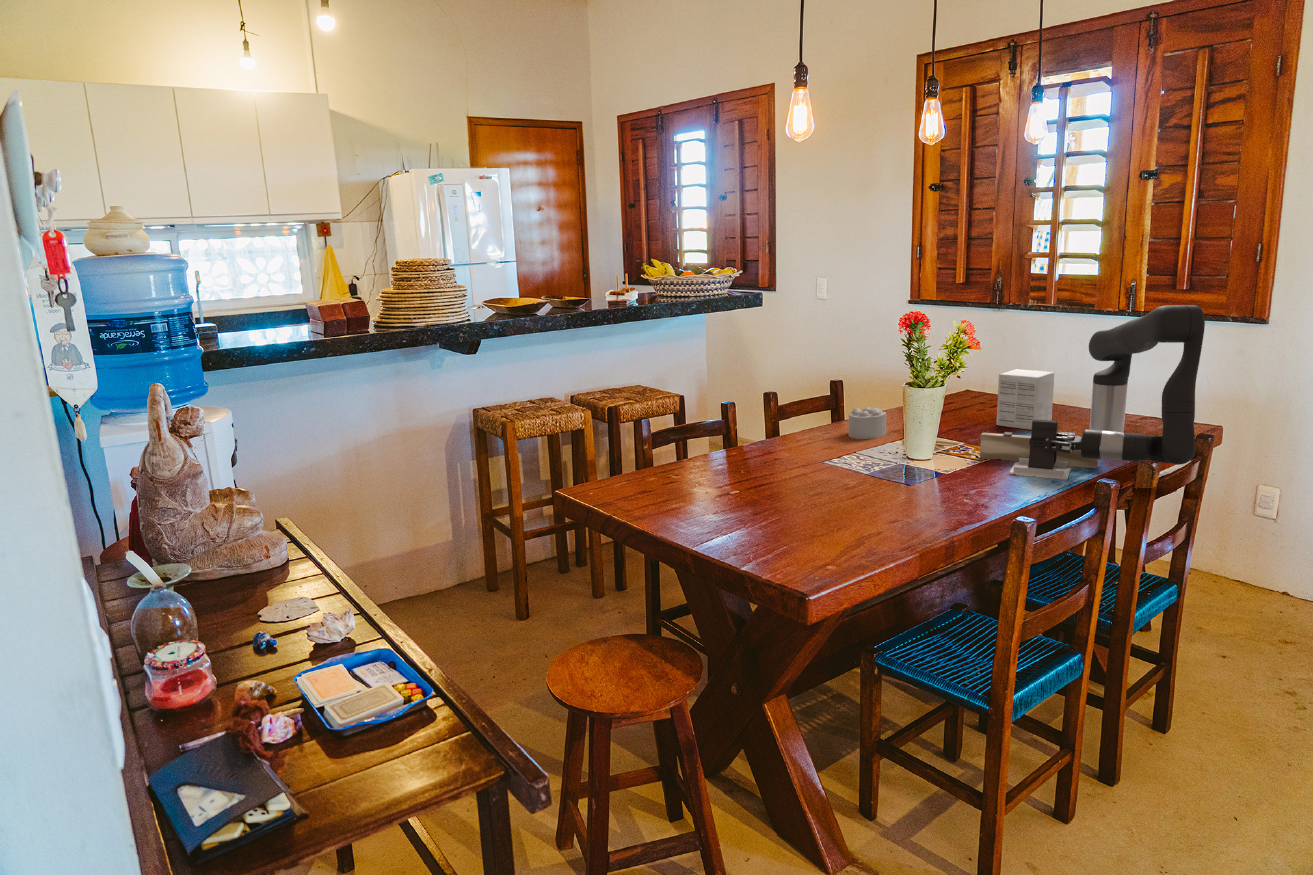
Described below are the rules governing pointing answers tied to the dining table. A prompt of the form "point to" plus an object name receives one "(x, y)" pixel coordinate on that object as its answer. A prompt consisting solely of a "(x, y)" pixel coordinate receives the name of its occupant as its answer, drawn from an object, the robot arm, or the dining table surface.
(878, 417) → the lumpy-topped squat cylinder
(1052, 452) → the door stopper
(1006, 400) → the supplement box
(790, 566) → the dining table surface
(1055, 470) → the keeper plate
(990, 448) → the door board
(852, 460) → the dining table surface
